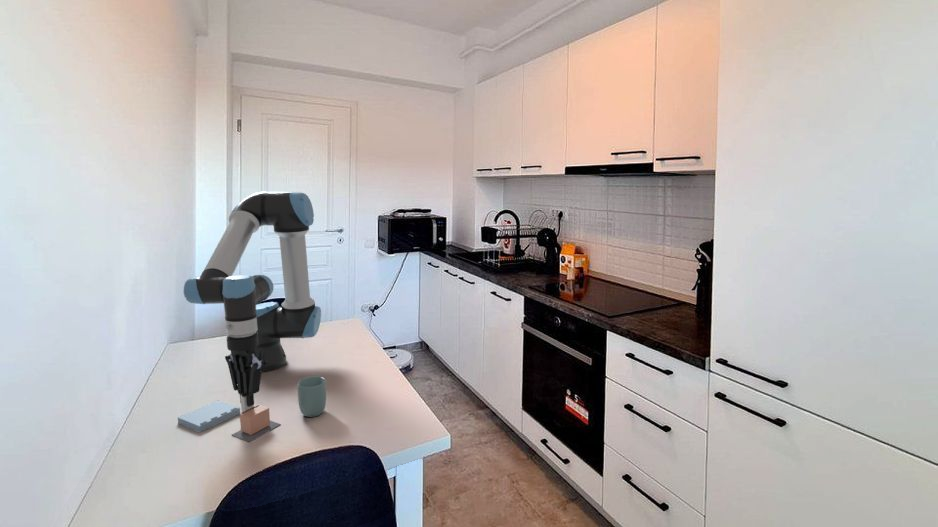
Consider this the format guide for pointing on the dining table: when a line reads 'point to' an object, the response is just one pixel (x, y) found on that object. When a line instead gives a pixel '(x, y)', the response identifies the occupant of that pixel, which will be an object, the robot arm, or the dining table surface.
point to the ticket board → (208, 415)
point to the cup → (312, 395)
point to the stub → (254, 419)
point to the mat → (251, 437)
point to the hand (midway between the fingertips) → (248, 415)
